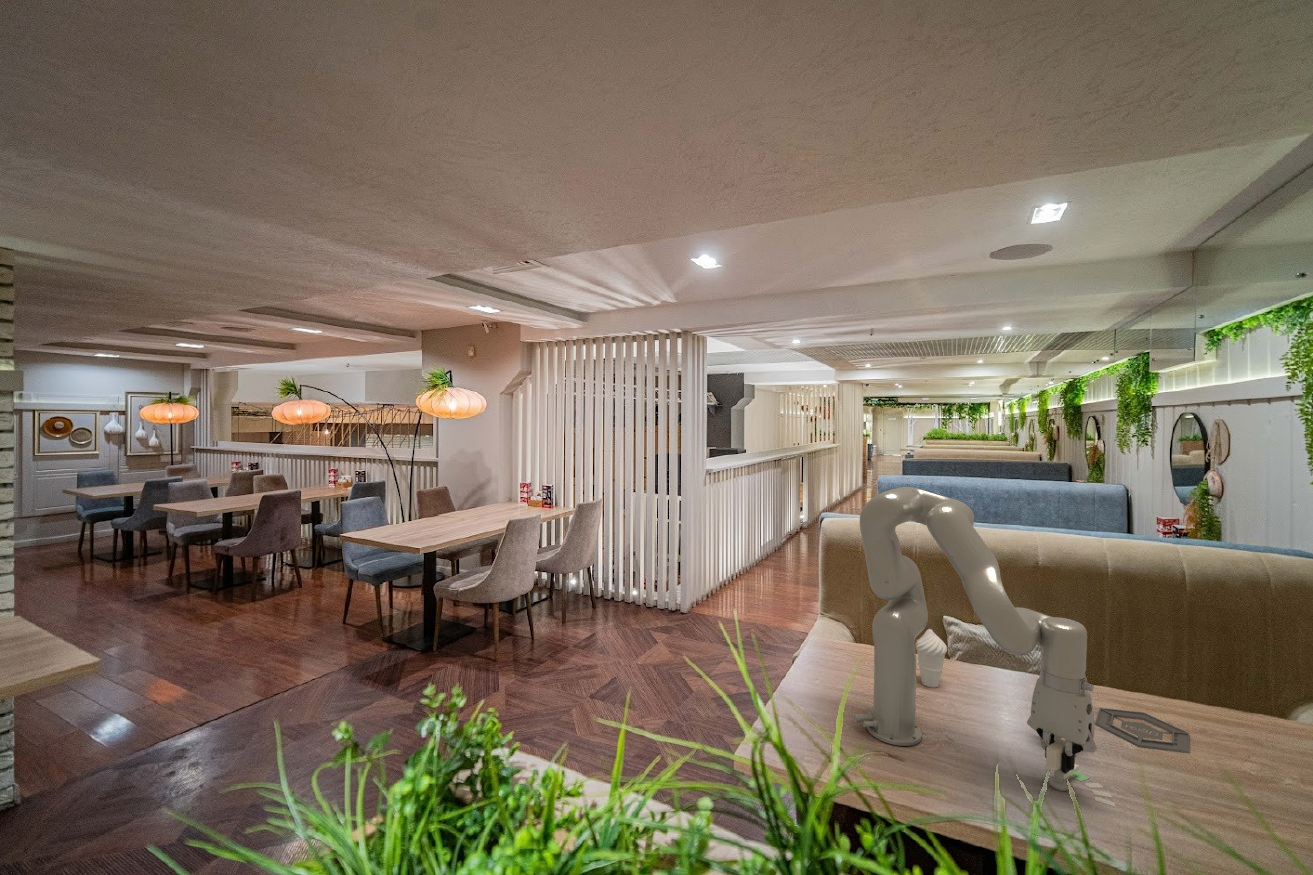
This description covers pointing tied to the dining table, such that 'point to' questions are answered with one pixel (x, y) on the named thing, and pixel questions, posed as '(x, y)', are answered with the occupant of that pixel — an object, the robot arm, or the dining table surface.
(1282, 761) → the dining table surface
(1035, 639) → the robot arm
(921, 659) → the soft serve ice cream cone
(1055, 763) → the beige block on stand
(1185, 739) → the grey hexagonal plate
